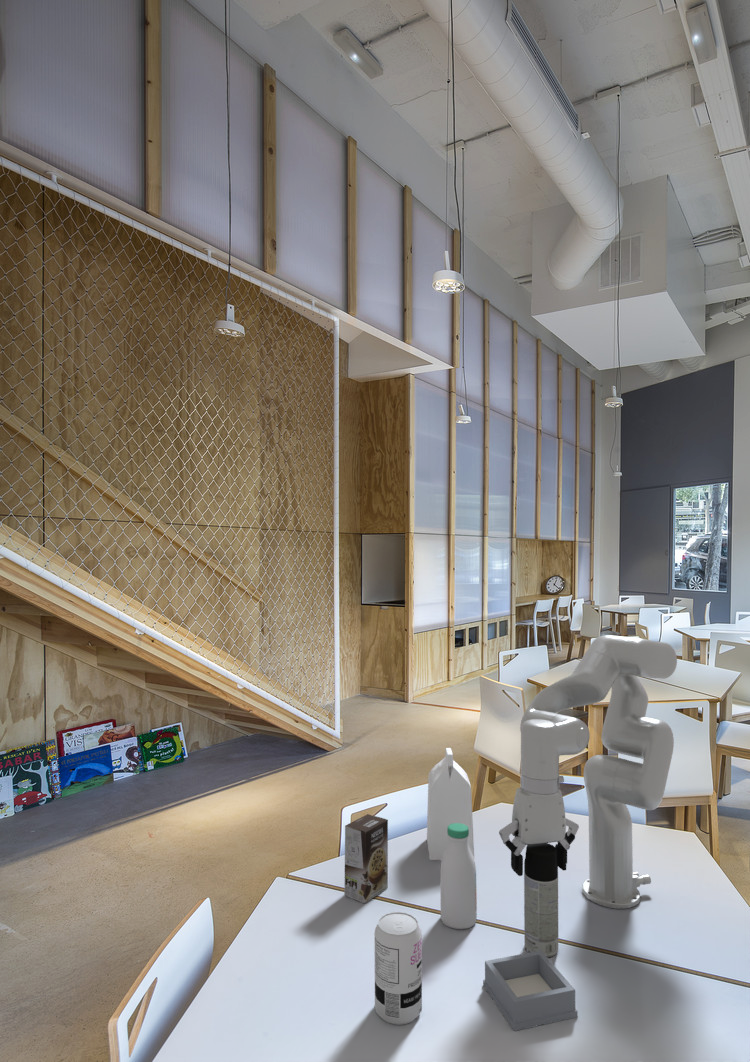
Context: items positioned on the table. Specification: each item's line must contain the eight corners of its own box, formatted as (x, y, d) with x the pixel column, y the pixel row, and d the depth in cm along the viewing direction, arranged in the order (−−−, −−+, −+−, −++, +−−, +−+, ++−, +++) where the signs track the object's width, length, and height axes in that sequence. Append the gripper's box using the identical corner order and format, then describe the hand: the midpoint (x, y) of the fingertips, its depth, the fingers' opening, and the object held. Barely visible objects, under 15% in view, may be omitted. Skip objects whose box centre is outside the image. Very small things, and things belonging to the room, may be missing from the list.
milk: (474, 860, 171) (473, 758, 171) (429, 859, 171) (429, 758, 172) (468, 839, 183) (467, 744, 183) (426, 839, 183) (426, 744, 184)
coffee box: (365, 904, 150) (365, 832, 150) (343, 895, 153) (343, 825, 154) (389, 888, 157) (389, 819, 157) (367, 879, 161) (367, 812, 161)
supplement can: (372, 996, 119) (372, 911, 119) (418, 993, 120) (418, 909, 120) (376, 1028, 111) (376, 937, 111) (425, 1025, 112) (425, 935, 112)
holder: (541, 973, 125) (541, 949, 125) (577, 1017, 114) (577, 990, 114) (483, 985, 122) (483, 960, 122) (514, 1031, 110) (513, 1003, 110)
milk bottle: (475, 932, 139) (475, 835, 139) (438, 928, 140) (438, 832, 141) (477, 912, 146) (476, 820, 147) (442, 908, 148) (442, 818, 148)
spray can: (559, 942, 135) (558, 843, 136) (557, 962, 129) (556, 857, 129) (526, 936, 137) (525, 838, 138) (522, 955, 131) (521, 852, 131)
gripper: (567, 774, 140) (567, 857, 139) (492, 780, 135) (491, 866, 134) (588, 786, 132) (587, 873, 132) (509, 793, 128) (508, 884, 127)
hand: (539, 870), depth 133 cm, fingers open, 9 cm apart
